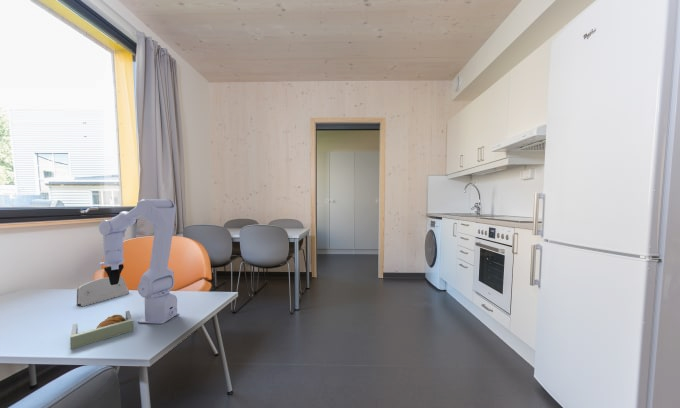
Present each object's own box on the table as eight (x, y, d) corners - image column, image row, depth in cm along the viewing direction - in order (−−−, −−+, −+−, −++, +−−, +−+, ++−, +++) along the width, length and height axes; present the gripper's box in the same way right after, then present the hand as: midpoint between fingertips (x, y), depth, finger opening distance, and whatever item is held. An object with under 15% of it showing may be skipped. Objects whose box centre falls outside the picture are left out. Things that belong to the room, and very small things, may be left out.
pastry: (114, 336, 78) (113, 324, 78) (86, 341, 76) (86, 329, 76) (127, 322, 87) (127, 312, 87) (103, 326, 85) (103, 315, 85)
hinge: (80, 307, 100) (76, 283, 101) (76, 309, 102) (72, 285, 103) (130, 293, 114) (126, 272, 116) (125, 294, 116) (122, 274, 118)
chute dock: (73, 333, 80) (72, 323, 80) (129, 318, 90) (129, 309, 90) (70, 349, 71) (70, 337, 71) (133, 330, 81) (132, 320, 81)
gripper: (99, 249, 98) (99, 282, 99) (99, 254, 88) (100, 291, 88) (122, 246, 103) (123, 278, 104) (125, 251, 93) (126, 286, 93)
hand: (114, 284), depth 96 cm, fingers closed
